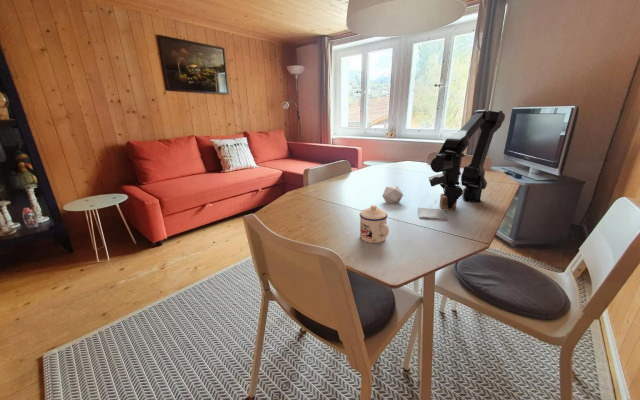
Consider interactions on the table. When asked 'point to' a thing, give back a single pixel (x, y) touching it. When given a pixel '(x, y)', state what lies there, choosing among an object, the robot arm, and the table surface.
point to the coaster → (432, 213)
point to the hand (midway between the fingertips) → (447, 204)
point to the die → (392, 195)
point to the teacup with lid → (373, 225)
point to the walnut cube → (446, 203)
